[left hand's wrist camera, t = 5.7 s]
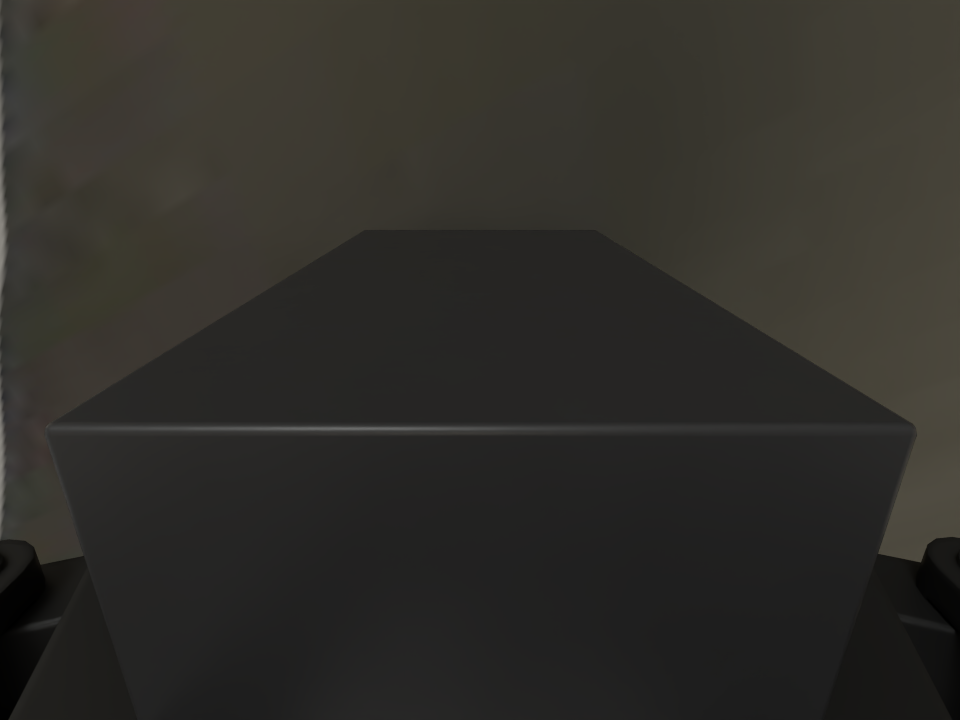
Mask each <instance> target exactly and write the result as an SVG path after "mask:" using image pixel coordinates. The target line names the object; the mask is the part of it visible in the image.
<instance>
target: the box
mask: <svg viewBox="0 0 960 720" xmlns="http://www.w3.org/2000/svg"><path fill="white" fill-rule="evenodd" d="M916 436H917V433H916V428H915V426H914V425H913V424H912V423H910V422H909V421H907V420H905V419H904V418H902V417H901V416H899V415H897V414H896V413H894V412H892V411H891V410H889V409H887V408H886V407H884V406H883V405H881V404H879V403H878V402H876V401H874V400H873V399H871V398H869V397H868V396H866V395H864V394H863V393H861V392H860V391H858V390H856V389H855V388H853V387H851V386H850V385H848V384H846V383H845V382H843V381H842V380H840V379H838V378H837V377H835V376H833V375H832V374H830V373H828V372H827V371H825V370H824V369H822V368H820V367H819V366H817V365H815V364H814V363H812V362H810V361H809V360H807V359H806V358H804V357H802V356H801V355H799V354H797V353H796V352H794V351H792V350H791V349H789V348H788V347H786V346H784V345H783V344H781V343H779V342H778V341H776V340H774V339H773V338H771V337H769V336H768V335H766V334H765V333H763V332H761V331H760V330H758V329H756V328H755V327H753V326H751V325H750V324H748V323H747V322H745V321H743V320H742V319H740V318H738V317H737V316H735V315H733V314H732V313H730V312H729V311H727V310H725V309H724V308H722V307H720V306H719V305H717V304H715V303H714V302H712V301H711V300H709V299H707V298H706V297H704V296H702V295H701V294H699V293H697V292H696V291H694V290H693V289H691V288H689V287H688V286H686V285H684V284H683V283H681V282H679V281H678V280H676V279H675V278H673V277H671V276H670V275H668V274H666V273H665V272H663V271H661V270H660V269H658V268H656V267H655V266H653V265H652V264H650V263H648V262H647V261H645V260H643V259H642V258H640V257H638V256H637V255H635V254H634V253H632V252H630V251H629V250H627V249H625V248H624V247H622V246H620V245H619V244H617V243H616V242H614V241H612V240H611V239H609V238H607V237H606V236H604V235H602V234H601V233H599V232H598V231H595V230H365V231H363V232H361V233H359V234H358V235H356V236H355V237H353V238H351V239H350V240H348V241H346V242H345V243H343V244H342V245H340V246H338V247H337V248H335V249H333V250H332V251H330V252H328V253H327V254H325V255H324V256H322V257H320V258H319V259H317V260H315V261H314V262H312V263H310V264H309V265H307V266H306V267H304V268H302V269H301V270H299V271H297V272H296V273H294V274H292V275H291V276H289V277H288V278H286V279H284V280H283V281H281V282H279V283H278V284H276V285H275V286H273V287H271V288H270V289H268V290H266V291H265V292H263V293H261V294H260V295H258V296H257V297H255V298H253V299H252V300H250V301H248V302H247V303H245V304H243V305H242V306H240V307H239V308H237V309H235V310H234V311H232V312H230V313H229V314H227V315H226V316H224V317H222V318H221V319H219V320H217V321H216V322H214V323H212V324H211V325H209V326H208V327H206V328H204V329H203V330H201V331H199V332H198V333H196V334H194V335H193V336H191V337H190V338H188V339H186V340H185V341H183V342H181V343H180V344H178V345H176V346H175V347H173V348H172V349H170V350H168V351H167V352H165V353H163V354H162V355H160V356H159V357H157V358H155V359H154V360H152V361H150V362H149V363H147V364H145V365H144V366H142V367H141V368H139V369H137V370H136V371H134V372H132V373H131V374H129V375H127V376H126V377H124V378H123V379H121V380H119V381H118V382H116V383H114V384H113V385H111V386H109V387H108V388H106V389H105V390H103V391H101V392H100V393H98V394H96V395H95V396H93V397H92V398H90V399H88V400H87V401H85V402H83V403H82V404H80V405H78V406H77V407H75V408H74V409H72V410H70V411H69V412H67V413H65V414H64V415H62V416H60V417H59V418H57V419H56V420H54V421H52V422H51V423H49V424H48V425H47V427H46V428H45V438H46V441H47V444H48V447H49V450H50V453H51V456H52V460H53V463H54V466H55V469H56V472H57V475H58V478H59V481H60V484H61V487H62V490H63V493H64V496H65V499H66V502H67V505H68V508H69V511H70V515H71V518H72V521H73V524H74V527H75V530H76V533H77V536H78V539H79V542H80V545H81V548H82V551H83V554H84V557H85V560H86V563H87V567H88V570H89V573H90V576H91V579H92V582H93V585H94V588H95V591H96V594H97V597H98V600H99V603H100V606H101V609H102V612H103V615H104V619H105V622H106V625H107V628H108V631H109V634H110V637H111V640H112V643H113V646H114V649H115V652H116V655H117V658H118V661H119V664H120V667H121V671H122V674H123V677H124V680H125V683H126V686H127V689H128V692H129V695H130V698H131V701H132V704H133V707H134V710H135V713H136V716H137V719H138V720H823V719H824V716H825V713H826V710H827V707H828V704H829V701H830V698H831V695H832V692H833V689H834V686H835V683H836V680H837V677H838V673H839V670H840V667H841V664H842V661H843V658H844V655H845V652H846V649H847V646H848V643H849V640H850V637H851V634H852V631H853V628H854V625H855V622H856V619H857V616H858V613H859V610H860V606H861V603H862V600H863V597H864V594H865V591H866V588H867V585H868V582H869V579H870V576H871V573H872V570H873V567H874V564H875V561H876V558H877V555H878V552H879V549H880V546H881V543H882V539H883V536H884V533H885V530H886V527H887V524H888V521H889V518H890V515H891V512H892V509H893V506H894V503H895V500H896V497H897V494H898V491H899V488H900V485H901V482H902V479H903V475H904V472H905V469H906V466H907V463H908V460H909V457H910V454H911V451H912V448H913V445H914V442H915V439H916Z"/></svg>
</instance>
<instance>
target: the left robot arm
mask: <svg viewBox="0 0 960 720" xmlns="http://www.w3.org/2000/svg"><path fill="white" fill-rule="evenodd" d="M0 720H138V719H137V716H136V713H135V710H134V707H133V704H132V701H131V698H130V695H129V692H128V689H127V686H126V683H125V680H124V677H123V674H122V671H121V667H120V664H119V661H118V658H117V655H116V652H115V649H114V646H113V643H112V640H111V637H110V634H109V631H108V628H107V625H106V622H105V619H104V615H103V612H102V609H101V606H100V603H99V600H98V597H97V594H96V591H95V588H94V585H93V582H92V579H91V576H90V573H89V570H88V567H87V563H86V560H85V557H84V556H82V557H77V558H72V559H67V560H62V561H57V562H52V563H47V564H42V565H40V563H39V560H38V557H37V554H36V552H35V549H34V547H33V546H32V545H30V544H29V543H27V542H26V541H20V540H10V539H9V540H2V541H0ZM823 720H960V538H955V537H947V538H937V539H935V540H933V541H932V542H931V543H929V544H928V545H927V548H926V550H925V553H924V556H923V559H922V561H921V563H920V562H915V561H911V560H906V559H901V558H896V557H891V556H886V555H881V554H878V555H877V558H876V561H875V564H874V567H873V570H872V573H871V576H870V579H869V582H868V585H867V588H866V591H865V594H864V597H863V600H862V603H861V606H860V610H859V613H858V616H857V619H856V622H855V625H854V628H853V631H852V634H851V637H850V640H849V643H848V646H847V649H846V652H845V655H844V658H843V661H842V664H841V667H840V670H839V673H838V677H837V680H836V683H835V686H834V689H833V692H832V695H831V698H830V701H829V704H828V707H827V710H826V713H825V716H824V719H823Z"/></svg>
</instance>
